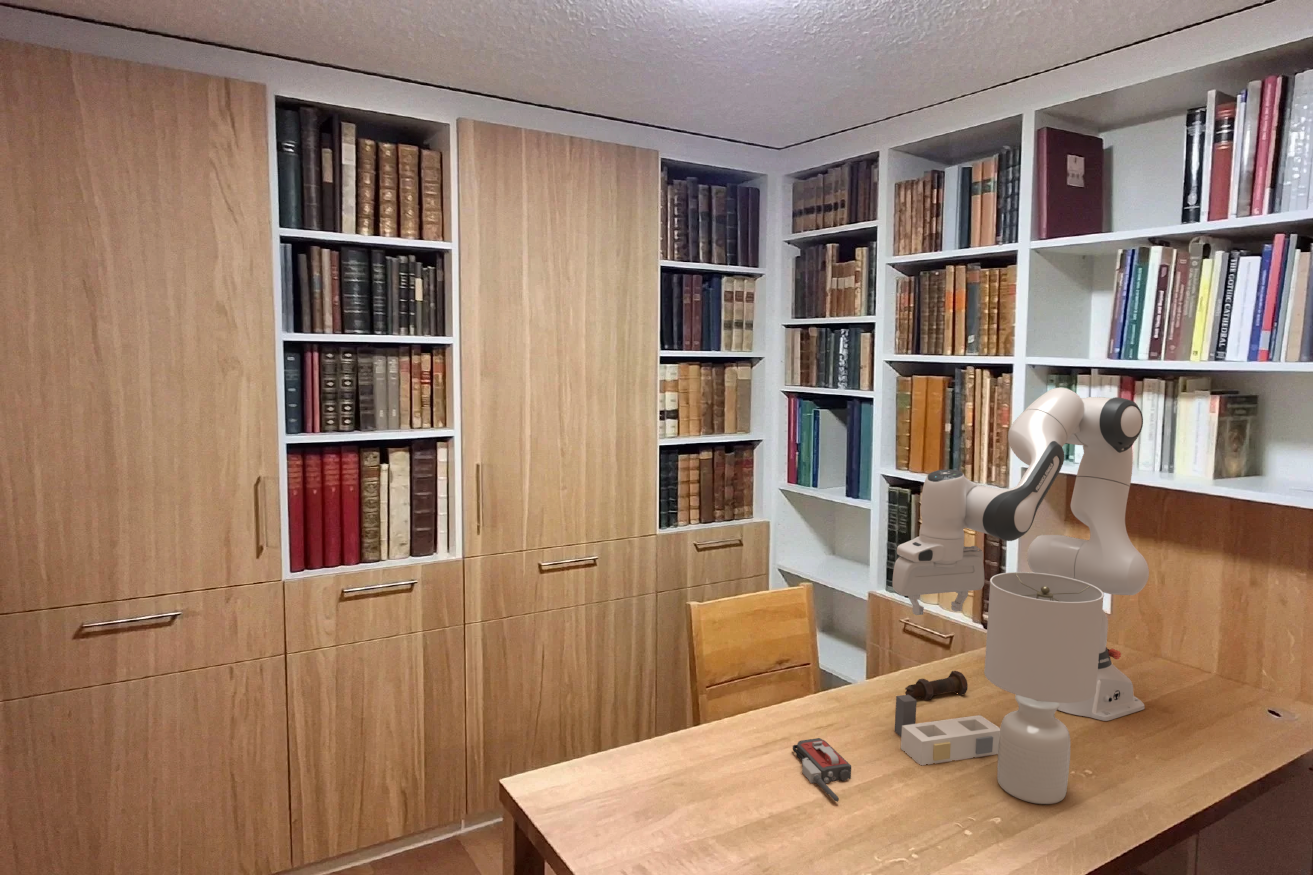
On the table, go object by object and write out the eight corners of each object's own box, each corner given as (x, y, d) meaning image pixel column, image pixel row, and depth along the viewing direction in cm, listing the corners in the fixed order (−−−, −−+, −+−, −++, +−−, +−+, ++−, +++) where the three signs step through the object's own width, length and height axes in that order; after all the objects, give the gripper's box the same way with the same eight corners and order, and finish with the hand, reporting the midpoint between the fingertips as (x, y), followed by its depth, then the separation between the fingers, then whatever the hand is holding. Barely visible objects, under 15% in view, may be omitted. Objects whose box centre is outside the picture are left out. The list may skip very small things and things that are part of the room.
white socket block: (978, 737, 173) (980, 714, 172) (1003, 754, 165) (1004, 731, 165) (900, 748, 167) (901, 725, 167) (922, 766, 160) (923, 742, 159)
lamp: (1085, 828, 140) (1103, 609, 136) (970, 798, 149) (983, 591, 145) (1088, 779, 156) (1104, 581, 152) (984, 753, 165) (996, 566, 161)
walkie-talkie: (782, 754, 165) (831, 808, 146) (783, 733, 164) (832, 785, 145) (821, 748, 167) (874, 800, 148) (822, 728, 167) (875, 778, 148)
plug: (906, 729, 176) (908, 694, 175) (914, 736, 173) (916, 700, 172) (894, 731, 175) (896, 695, 174) (902, 737, 172) (904, 701, 171)
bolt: (905, 706, 191) (958, 696, 196) (917, 704, 187) (970, 693, 192) (898, 681, 194) (950, 671, 198) (910, 678, 189) (963, 668, 194)
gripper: (973, 541, 174) (969, 603, 176) (890, 547, 169) (886, 611, 170) (993, 548, 168) (989, 613, 170) (907, 554, 163) (904, 621, 164)
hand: (937, 612), depth 170 cm, fingers open, 8 cm apart
